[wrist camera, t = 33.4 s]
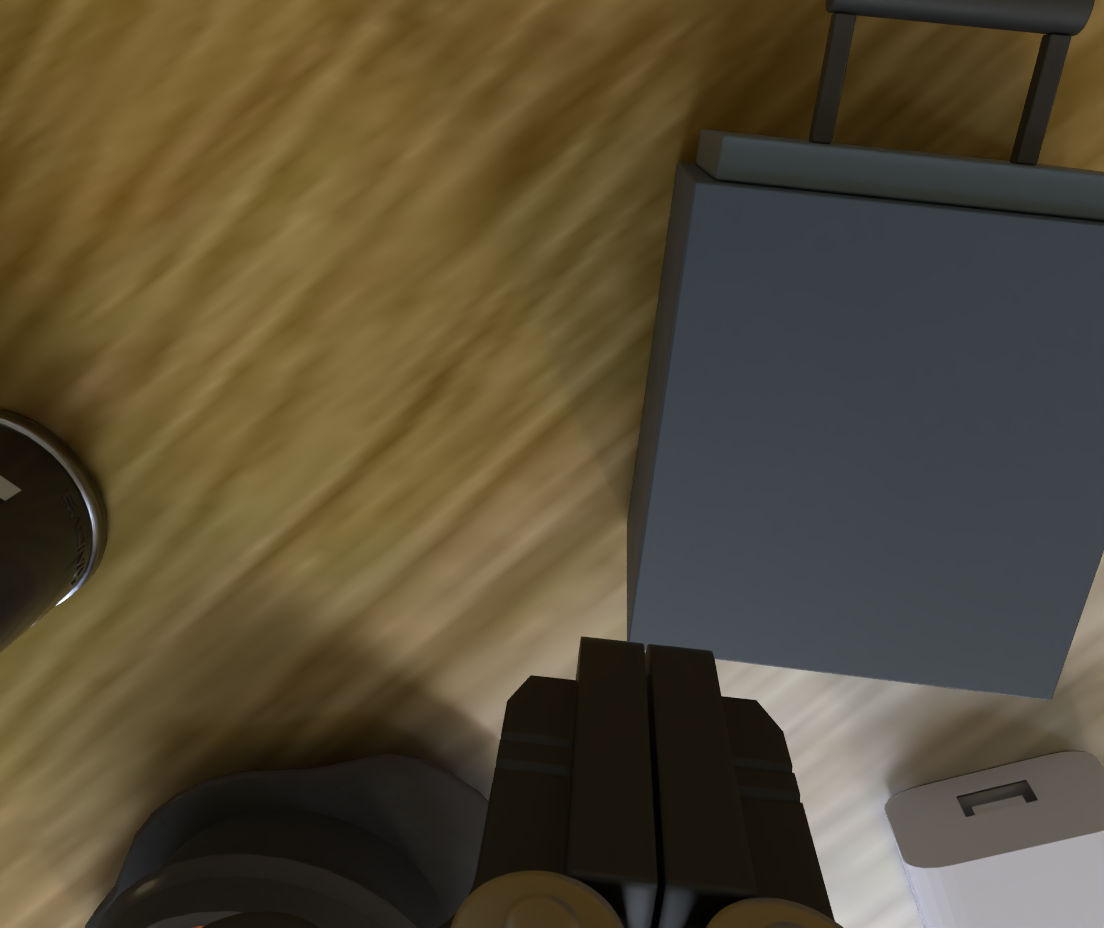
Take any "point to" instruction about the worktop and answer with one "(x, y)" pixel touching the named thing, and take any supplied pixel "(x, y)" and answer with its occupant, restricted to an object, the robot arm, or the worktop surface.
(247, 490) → the worktop surface
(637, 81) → the worktop surface
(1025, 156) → the drawer
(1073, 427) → the cabinet
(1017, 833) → the charger
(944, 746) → the worktop surface
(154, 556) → the worktop surface
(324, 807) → the casserole
